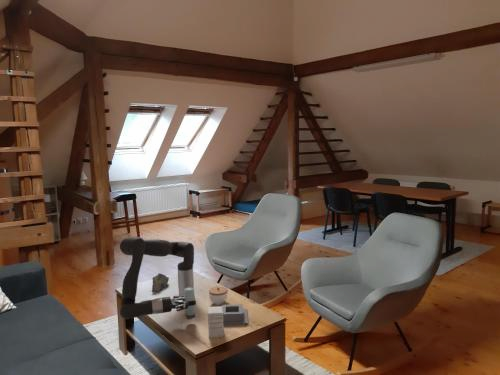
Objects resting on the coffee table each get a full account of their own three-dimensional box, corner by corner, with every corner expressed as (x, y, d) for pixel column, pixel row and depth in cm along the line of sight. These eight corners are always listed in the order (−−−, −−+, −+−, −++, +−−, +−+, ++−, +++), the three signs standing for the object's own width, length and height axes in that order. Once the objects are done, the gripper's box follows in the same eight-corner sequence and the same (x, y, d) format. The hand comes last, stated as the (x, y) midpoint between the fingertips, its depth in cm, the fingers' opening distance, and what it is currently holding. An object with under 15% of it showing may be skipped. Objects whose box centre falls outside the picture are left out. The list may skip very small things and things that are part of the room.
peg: (186, 314, 209) (184, 287, 207) (195, 314, 209) (194, 287, 207) (185, 319, 204) (183, 291, 202) (194, 318, 204) (193, 291, 202)
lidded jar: (218, 297, 238) (218, 282, 237) (231, 301, 232) (231, 286, 230) (205, 303, 230) (205, 287, 229) (218, 308, 223) (218, 292, 222)
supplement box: (208, 330, 199) (207, 306, 197) (223, 329, 199) (222, 305, 198) (208, 338, 191) (207, 313, 190) (223, 337, 192) (223, 312, 190)
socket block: (217, 311, 219) (217, 303, 218) (246, 310, 220) (246, 302, 219) (216, 325, 203) (216, 316, 203) (247, 324, 204) (247, 315, 203)
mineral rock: (168, 283, 263) (167, 268, 261) (174, 288, 254) (173, 273, 252) (148, 287, 256) (148, 272, 254) (154, 292, 247) (153, 277, 245)
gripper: (162, 304, 194) (196, 299, 199) (159, 292, 207) (192, 288, 212) (163, 318, 195) (197, 313, 200) (160, 306, 208) (192, 301, 213)
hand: (194, 300), depth 206 cm, fingers closed on peg, 5 cm apart
